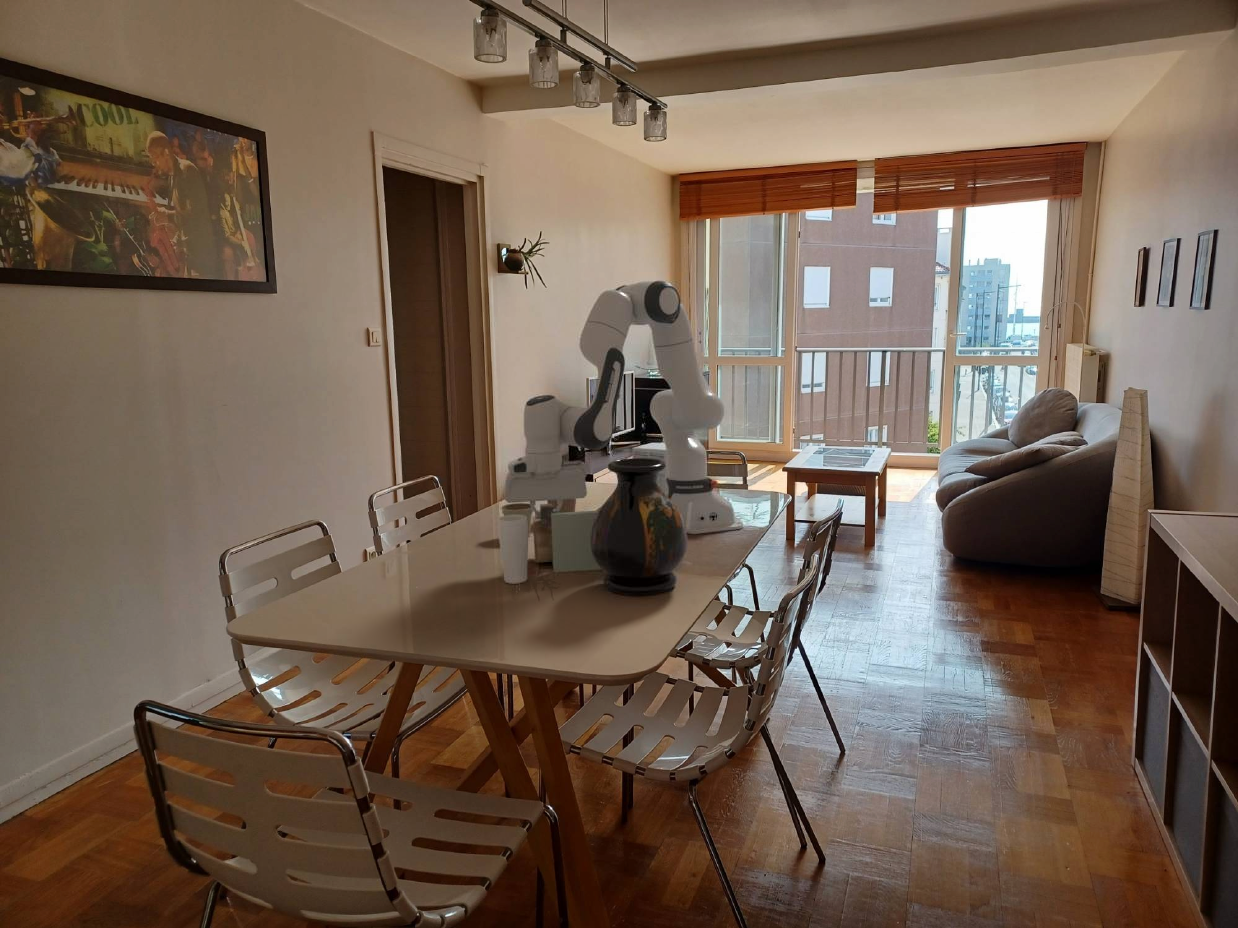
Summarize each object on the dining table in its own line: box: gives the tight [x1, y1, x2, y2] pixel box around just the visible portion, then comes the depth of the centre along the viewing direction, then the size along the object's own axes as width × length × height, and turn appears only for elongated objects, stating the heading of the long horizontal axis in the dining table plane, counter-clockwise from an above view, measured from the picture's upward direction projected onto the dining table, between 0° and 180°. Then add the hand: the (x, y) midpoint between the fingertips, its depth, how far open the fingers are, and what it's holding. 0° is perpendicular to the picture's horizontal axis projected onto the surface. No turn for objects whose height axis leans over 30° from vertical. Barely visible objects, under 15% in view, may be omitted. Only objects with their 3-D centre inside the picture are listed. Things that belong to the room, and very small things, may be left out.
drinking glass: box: [497, 515, 529, 585], centre depth 196 cm, size 7×7×15 cm
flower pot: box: [500, 502, 534, 538], centre depth 237 cm, size 9×9×9 cm
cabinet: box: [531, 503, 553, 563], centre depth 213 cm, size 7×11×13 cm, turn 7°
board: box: [551, 510, 602, 573], centre depth 206 cm, size 16×6×14 cm, turn 97°
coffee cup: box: [546, 499, 577, 513], centre depth 255 cm, size 10×10×12 cm
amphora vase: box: [591, 458, 689, 596], centre depth 188 cm, size 22×22×28 cm
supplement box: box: [631, 442, 668, 496], centre depth 283 cm, size 13×13×18 cm
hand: (547, 517), depth 211 cm, fingers closed on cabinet, 3 cm apart
